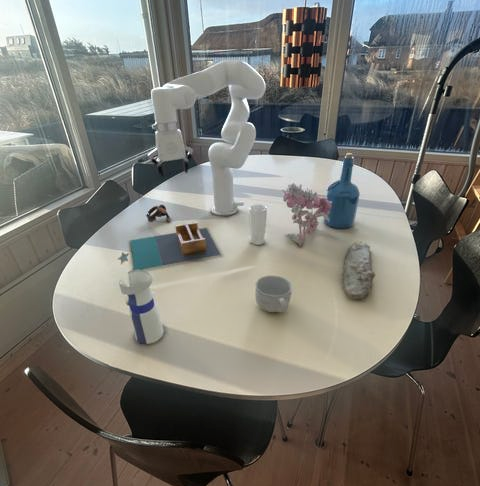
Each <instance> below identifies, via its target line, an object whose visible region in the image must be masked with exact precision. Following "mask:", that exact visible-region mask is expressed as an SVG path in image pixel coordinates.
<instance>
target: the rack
mask: <svg viewBox="0 0 480 486" xmlns="http://www.w3.org/2000/svg"><path fill="white" fill-rule="evenodd" d="M174 227H175V233H176V234H177V239H178V241H179V244H180V247H181V250H182V253H183V255H184V256H186V255H191V254H197V253H202V252H207V250H206V240H205V238H203V237H202V235H201V233H200V231H199V229H200V228H199V227H198V222H197V221H194V222H193V221H192V222H187V223H181V224H175V225H174Z"/></svg>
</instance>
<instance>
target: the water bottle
mask: <svg viewBox="0 0 480 486" xmlns="http://www.w3.org/2000/svg"><path fill="white" fill-rule="evenodd" d="M129 255H130V253H129V252H128V253H124V251H122V252H121V255H120V256H119V257H118V258H117V260H119V261H120V265H123V264H124V263H125V262H129V259H128V257H129ZM127 276H128V283H129V285H127V284H126V283H125V282H124V281H123V280H122V279H118V285H119V290H120V292H121V294H122V295H126V296H125V304H126V305H127V306H128V307H129V317H130V320H131V324H132V328H133V332H134V337H135V340H136V342H138V343H140V344H143V345H149V344H153V343H156V342H157V341H159V340H160V339H161V338H162V337H163V335H164V332H165V331H164V327H163V324H162V320H161V317H160V312H159V309H158V306H157V304H156V302H155V300H154V297H155V293H154V291H153V289H151V285H152V284H153V282H154V278H153V276H152V275H151V274H150V272H149V271H148V270H145V269H143V270H134V269H132V270H129V271H128V272H127Z"/></svg>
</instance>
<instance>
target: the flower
mask: <svg viewBox="0 0 480 486" xmlns="http://www.w3.org/2000/svg"><path fill="white" fill-rule="evenodd" d="M302 186H303V184H299V186H298V185H297V184H295V182H293V183H291V184H287V188H286V190H285V189H282V190H281V192H283V193H284V195H283V198H282V199H283V202H284V203H286V207H287V208H290V209H291V210H290V212H291V213H292V217H291V219H292V224H297V225H298V229H299V231H298V232H299V233H296V232H289V233H287V236H289V237H290V239H291V240H292V241H293V242H296V243H297V244H299V247H301V245H302V243H303V242H304V239H305V238H306V236H307V235H308V232H312V231H313V230H315V229H316V228H317V227H318V226H319V224H320V222H319V220H318V218H320V217H323V219H324V218H325V219H326V220H328V222H329V218H328V217H327V216H328V215H329V213H330V211H329V209H331V207H332V206H331V204H332V201H328V200H327V201H326V199H327V198H328V197H327V196H326V197H324V196H320V197H318V196H317V195H318V193H317V191H314V193H313V189H312V188H311V189H309V188H306V190H303V188H302ZM305 208H306V209H307V210H304V209H305ZM328 208H329V209H328ZM313 209H314V210H315V212H314V213H313V212H312V211H309V210H313ZM302 217H304V219H305V220H303V218H302ZM302 228H303V229H302Z"/></svg>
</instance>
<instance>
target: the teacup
mask: <svg viewBox="0 0 480 486" xmlns="http://www.w3.org/2000/svg"><path fill="white" fill-rule="evenodd" d="M254 286H255V291H254V293H255V294H254V297H255V302H256V304H257V306H258V307H259V308H261V310H264V311H265V312H268V313H285V312H286V311H287V307H288V306H289V305H290V302H291V299H292V297H291V296H292V291H293V284H292V282H291V281H290V280H289V279H287V278H286V277H283V276H280V275H265V276H262V277H260V278H258V279H257V280H256V281H255V285H254Z"/></svg>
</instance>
